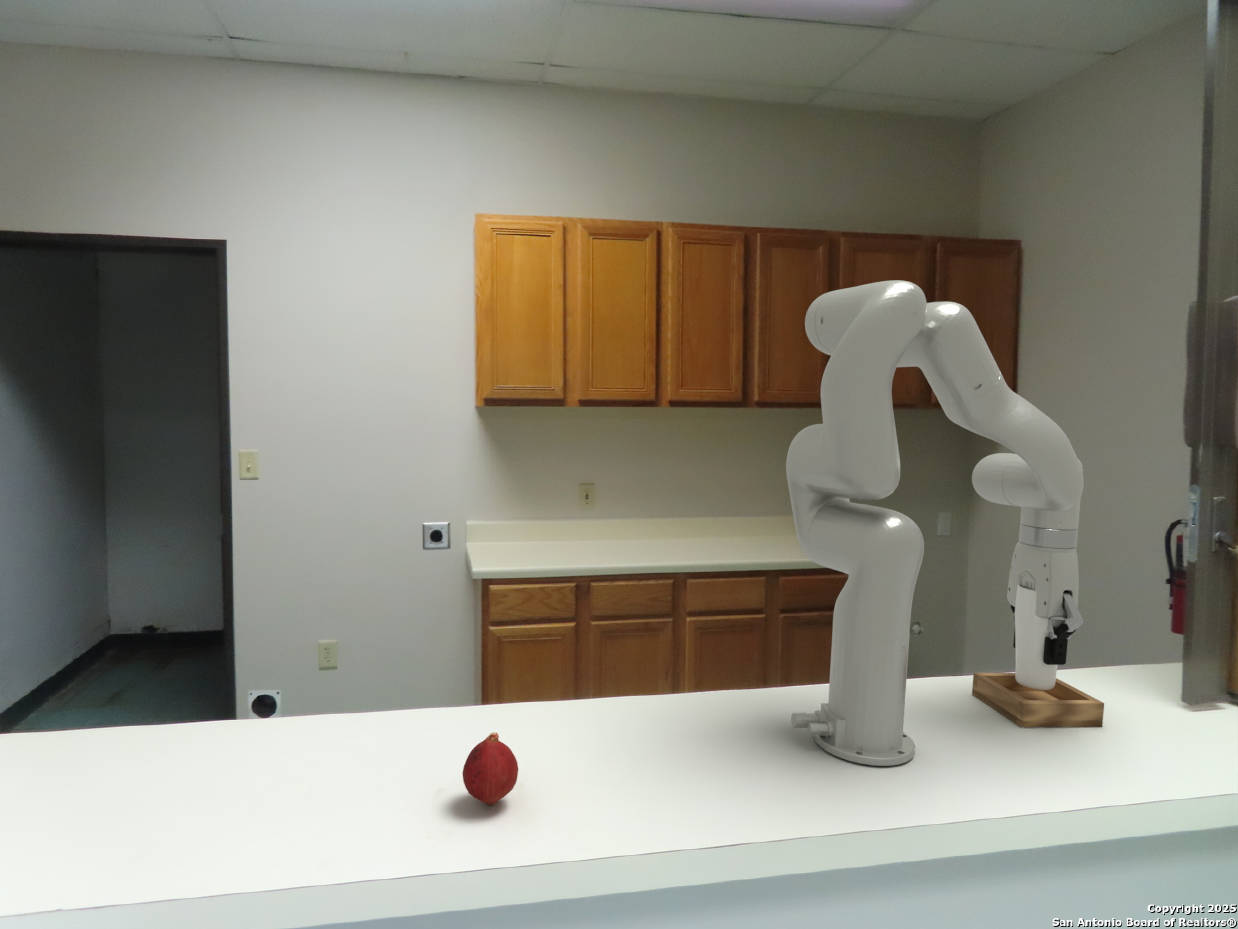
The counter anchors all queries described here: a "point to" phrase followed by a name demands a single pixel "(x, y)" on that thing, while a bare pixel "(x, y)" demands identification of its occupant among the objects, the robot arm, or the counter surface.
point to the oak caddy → (1038, 702)
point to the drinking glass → (1032, 643)
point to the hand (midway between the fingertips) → (1038, 655)
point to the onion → (490, 770)
